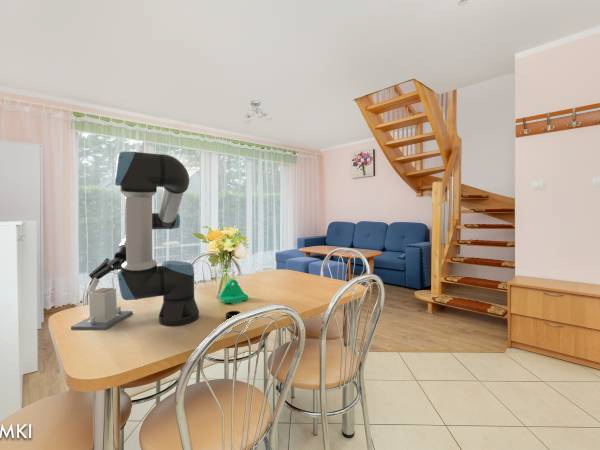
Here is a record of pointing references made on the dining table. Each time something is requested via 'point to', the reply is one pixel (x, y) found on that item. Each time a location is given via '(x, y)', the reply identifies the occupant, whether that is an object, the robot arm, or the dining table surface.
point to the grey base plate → (102, 324)
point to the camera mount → (232, 293)
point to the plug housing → (103, 304)
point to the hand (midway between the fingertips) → (106, 293)
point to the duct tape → (231, 314)
